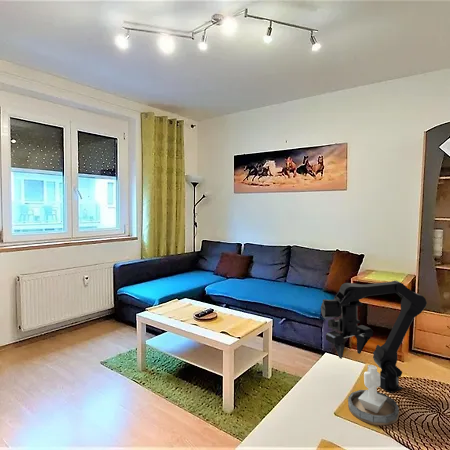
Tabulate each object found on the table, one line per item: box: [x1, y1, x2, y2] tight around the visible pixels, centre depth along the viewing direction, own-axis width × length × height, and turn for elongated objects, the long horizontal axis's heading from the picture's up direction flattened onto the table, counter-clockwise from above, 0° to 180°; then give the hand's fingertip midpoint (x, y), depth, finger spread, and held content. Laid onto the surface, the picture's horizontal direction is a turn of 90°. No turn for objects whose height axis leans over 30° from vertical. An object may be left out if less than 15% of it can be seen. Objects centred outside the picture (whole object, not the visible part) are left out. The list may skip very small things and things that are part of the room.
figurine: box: [358, 364, 387, 413], centre depth 115 cm, size 7×9×15 cm
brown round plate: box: [348, 397, 400, 426], centre depth 115 cm, size 16×16×1 cm
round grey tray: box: [347, 389, 400, 423], centre depth 115 cm, size 16×16×2 cm
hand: (349, 355), depth 128 cm, fingers open, 9 cm apart
